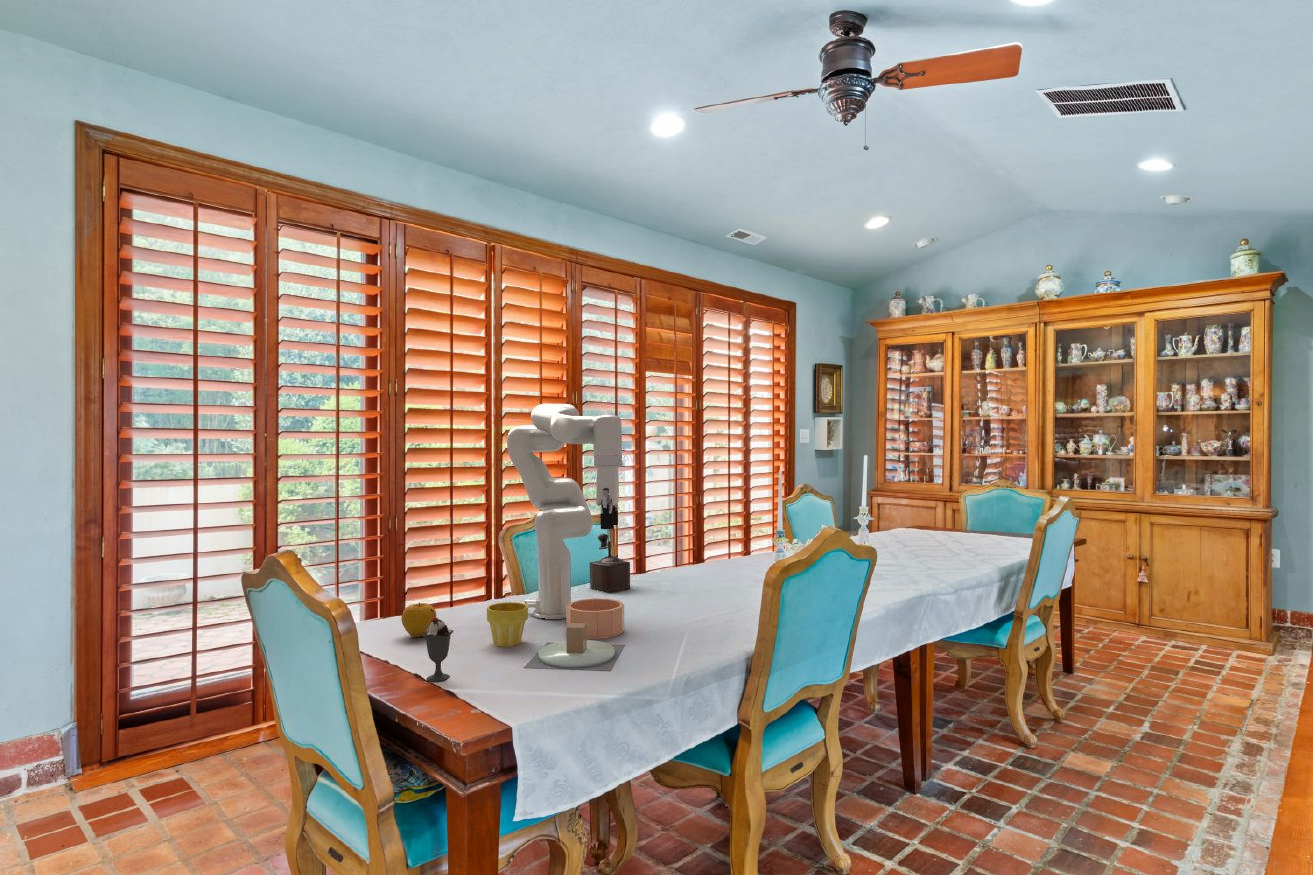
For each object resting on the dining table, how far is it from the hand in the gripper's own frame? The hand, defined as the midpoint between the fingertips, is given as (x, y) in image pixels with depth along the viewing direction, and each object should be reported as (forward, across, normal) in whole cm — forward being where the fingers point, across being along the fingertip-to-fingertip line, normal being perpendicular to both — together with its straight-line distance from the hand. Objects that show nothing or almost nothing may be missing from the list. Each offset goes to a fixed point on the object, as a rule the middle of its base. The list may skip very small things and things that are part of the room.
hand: (609, 527), depth 188 cm
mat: (+29, +18, -6) cm, 35 cm away
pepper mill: (+27, -61, -10) cm, 68 cm away
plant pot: (+29, +8, -26) cm, 39 cm away
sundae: (+29, +34, -34) cm, 56 cm away
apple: (+28, +2, -51) cm, 58 cm away
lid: (+28, +18, -6) cm, 34 cm away
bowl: (+29, -4, -5) cm, 29 cm away
